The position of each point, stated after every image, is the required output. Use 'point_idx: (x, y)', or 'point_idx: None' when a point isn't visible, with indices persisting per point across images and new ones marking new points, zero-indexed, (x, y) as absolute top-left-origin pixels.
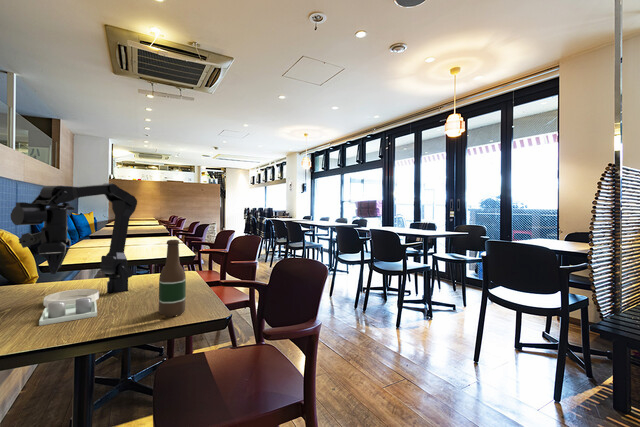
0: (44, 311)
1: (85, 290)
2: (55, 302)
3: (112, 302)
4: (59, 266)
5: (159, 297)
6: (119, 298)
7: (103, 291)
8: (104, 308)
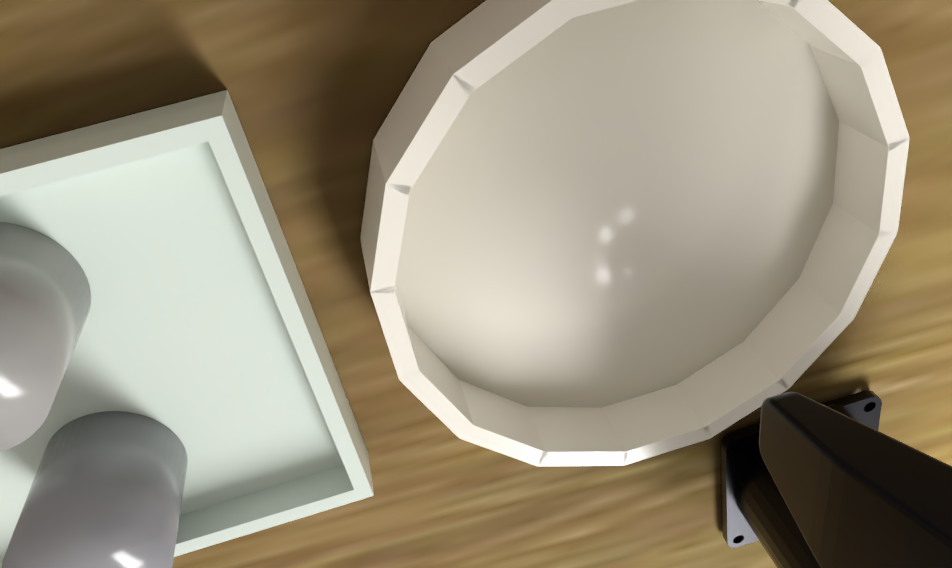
0: (40, 175)
1: (836, 296)
2: None
3: (464, 520)
4: (785, 495)
5: None
6: (579, 527)
7: (928, 338)
8: (282, 526)
